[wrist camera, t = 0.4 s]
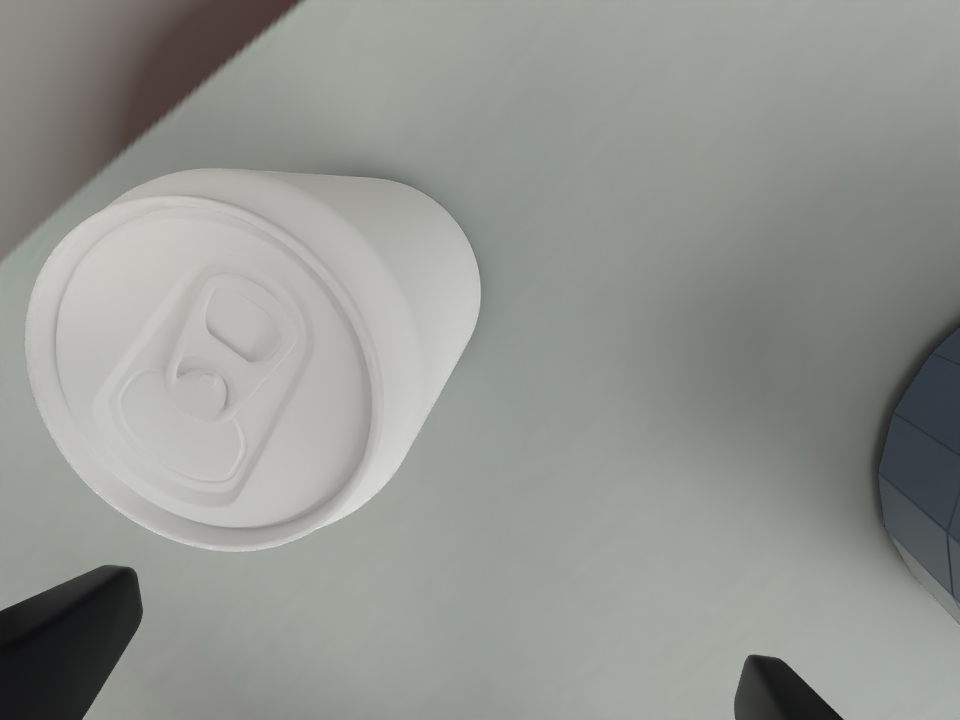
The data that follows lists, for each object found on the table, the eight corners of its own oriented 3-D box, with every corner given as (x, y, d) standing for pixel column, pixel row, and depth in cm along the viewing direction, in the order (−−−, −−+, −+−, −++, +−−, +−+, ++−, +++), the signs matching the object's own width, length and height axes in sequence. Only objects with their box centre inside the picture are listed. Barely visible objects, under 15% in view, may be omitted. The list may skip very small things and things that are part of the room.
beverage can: (245, 303, 23) (-57, 414, 12) (351, 131, 21) (103, 59, 9) (404, 422, 24) (268, 639, 12) (526, 269, 21) (496, 362, 10)
